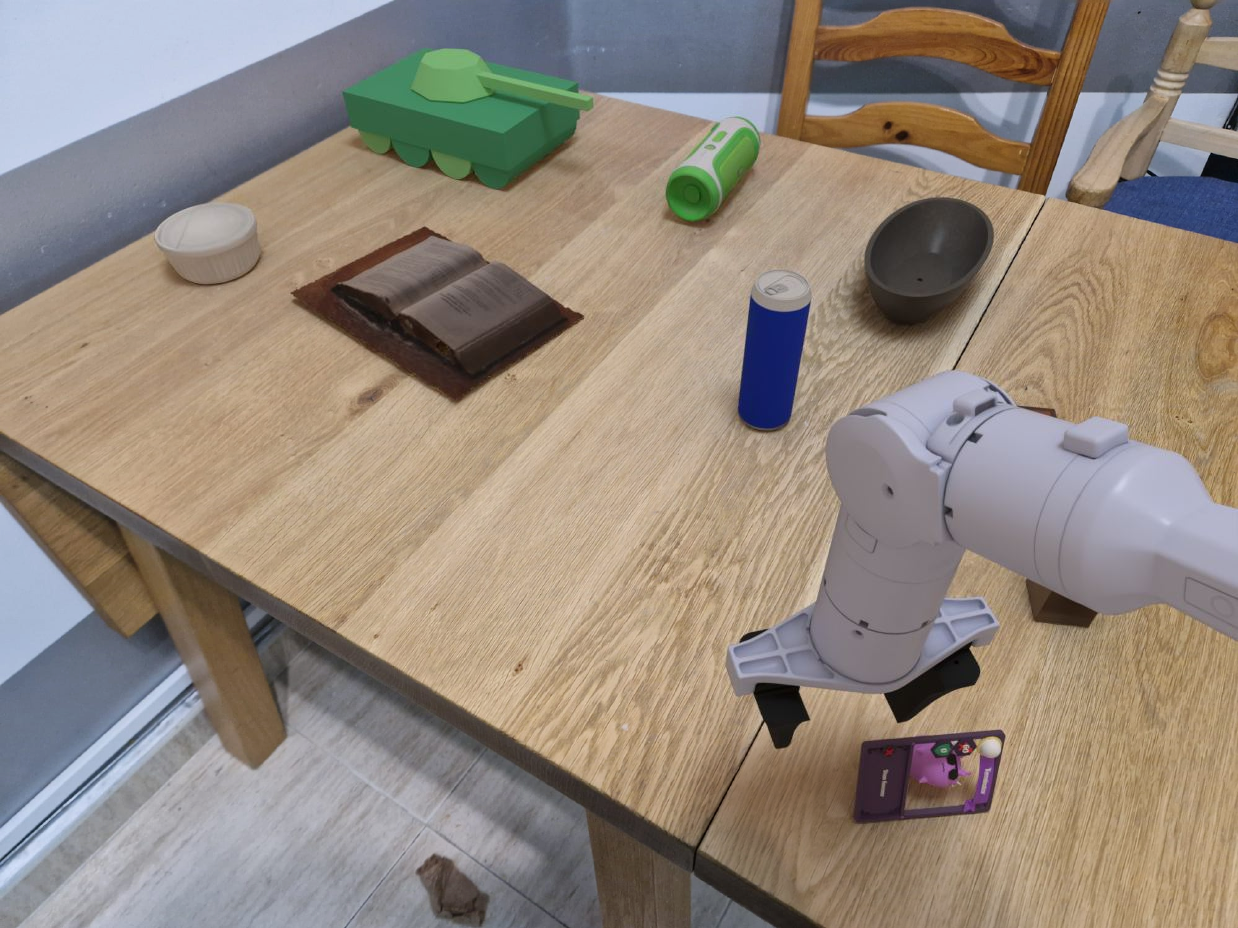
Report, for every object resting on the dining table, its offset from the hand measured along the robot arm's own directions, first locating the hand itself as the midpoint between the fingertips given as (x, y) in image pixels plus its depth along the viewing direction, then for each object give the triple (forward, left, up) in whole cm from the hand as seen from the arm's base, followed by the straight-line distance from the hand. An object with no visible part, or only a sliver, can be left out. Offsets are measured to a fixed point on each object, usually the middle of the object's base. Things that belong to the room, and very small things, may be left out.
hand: (836, 720), depth 52 cm
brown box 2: (-1, -26, -9) cm, 27 cm away
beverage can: (+29, -22, -9) cm, 38 cm away
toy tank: (+94, -29, -9) cm, 98 cm away
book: (+64, -5, -9) cm, 65 cm away
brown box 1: (+11, -38, -9) cm, 40 cm away
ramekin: (+88, +12, -9) cm, 89 cm away
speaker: (+65, -46, -9) cm, 80 cm away
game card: (-4, -5, -9) cm, 11 cm away
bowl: (+34, -50, -9) cm, 61 cm away
